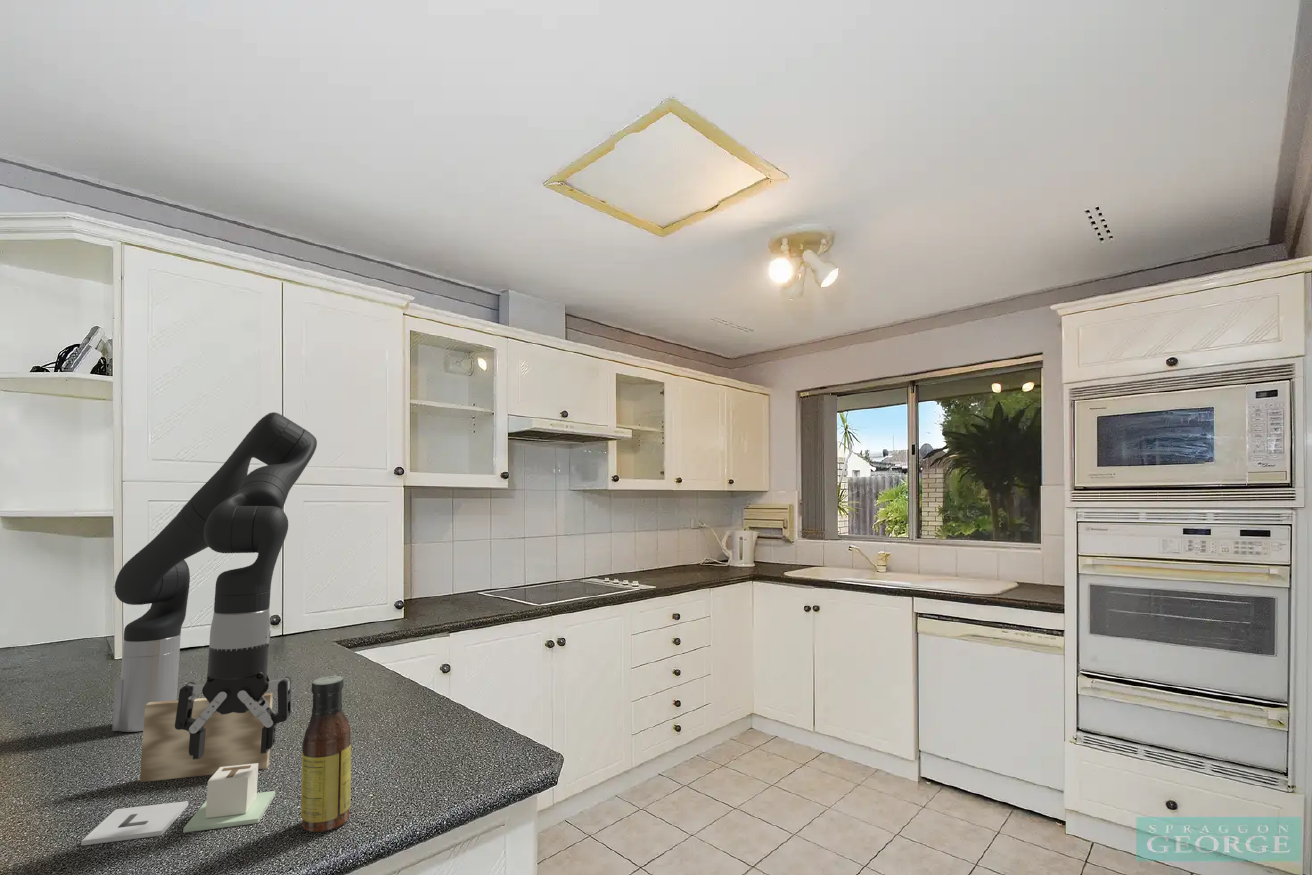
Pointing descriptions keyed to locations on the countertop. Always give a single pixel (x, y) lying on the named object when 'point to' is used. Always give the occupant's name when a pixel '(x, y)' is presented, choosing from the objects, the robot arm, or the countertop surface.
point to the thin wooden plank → (224, 742)
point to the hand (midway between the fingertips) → (232, 754)
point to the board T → (250, 817)
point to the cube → (232, 790)
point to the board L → (135, 823)
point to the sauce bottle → (326, 760)
